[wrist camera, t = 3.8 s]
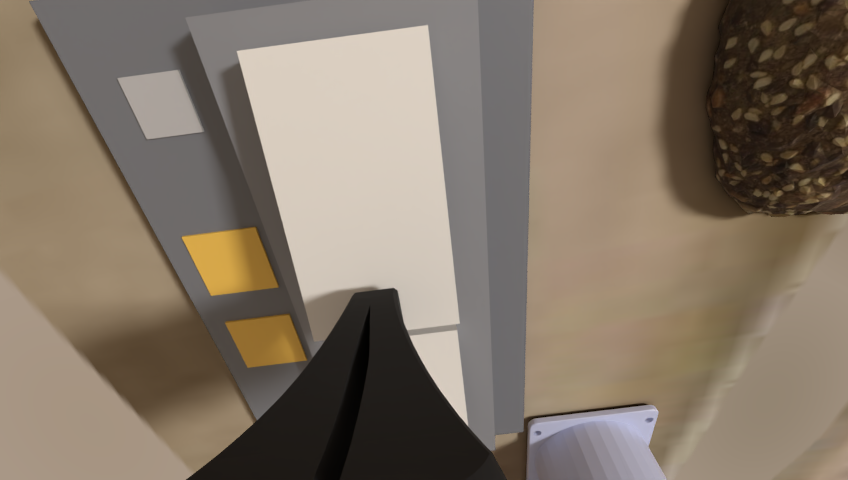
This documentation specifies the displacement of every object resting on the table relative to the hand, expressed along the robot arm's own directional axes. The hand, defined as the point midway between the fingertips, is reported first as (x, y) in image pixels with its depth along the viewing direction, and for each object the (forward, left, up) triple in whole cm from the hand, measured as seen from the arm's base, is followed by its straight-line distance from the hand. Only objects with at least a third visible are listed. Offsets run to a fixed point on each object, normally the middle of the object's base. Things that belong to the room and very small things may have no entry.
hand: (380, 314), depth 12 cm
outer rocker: (+3, 0, -2) cm, 4 cm away
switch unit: (-2, +1, -6) cm, 6 cm away
